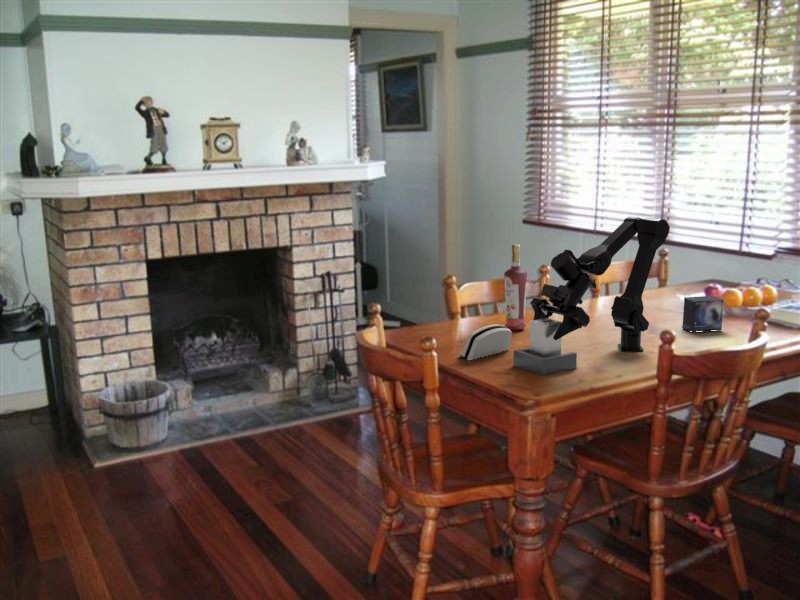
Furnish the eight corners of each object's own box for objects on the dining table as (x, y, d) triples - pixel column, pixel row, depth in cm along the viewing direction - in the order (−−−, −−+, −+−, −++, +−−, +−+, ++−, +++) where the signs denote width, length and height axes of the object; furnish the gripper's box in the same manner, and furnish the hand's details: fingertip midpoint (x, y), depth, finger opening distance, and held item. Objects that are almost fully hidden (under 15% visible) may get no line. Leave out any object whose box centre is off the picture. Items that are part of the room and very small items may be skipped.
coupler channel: (546, 358, 229) (546, 344, 228) (576, 368, 219) (576, 352, 218) (513, 365, 223) (513, 350, 222) (542, 375, 213) (542, 360, 212)
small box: (692, 333, 253) (694, 301, 251) (681, 329, 259) (682, 297, 257) (722, 331, 255) (724, 298, 253) (710, 326, 261) (712, 295, 259)
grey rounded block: (496, 346, 243) (505, 318, 239) (507, 354, 240) (516, 325, 236) (457, 357, 232) (465, 327, 228) (468, 365, 229) (476, 335, 225)
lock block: (546, 359, 225) (546, 316, 222) (560, 364, 220) (561, 320, 217) (529, 363, 222) (529, 319, 219) (543, 368, 217) (544, 323, 214)
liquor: (531, 329, 263) (532, 244, 258) (513, 333, 259) (514, 246, 254) (516, 325, 269) (517, 242, 264) (499, 329, 266) (499, 244, 260)
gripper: (535, 268, 226) (504, 312, 222) (582, 277, 210) (550, 324, 207) (556, 293, 231) (526, 336, 228) (603, 303, 216) (572, 349, 212)
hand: (542, 336), depth 219 cm, fingers open, 9 cm apart
